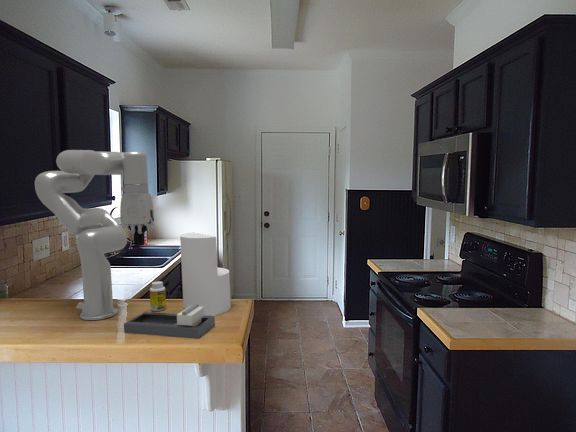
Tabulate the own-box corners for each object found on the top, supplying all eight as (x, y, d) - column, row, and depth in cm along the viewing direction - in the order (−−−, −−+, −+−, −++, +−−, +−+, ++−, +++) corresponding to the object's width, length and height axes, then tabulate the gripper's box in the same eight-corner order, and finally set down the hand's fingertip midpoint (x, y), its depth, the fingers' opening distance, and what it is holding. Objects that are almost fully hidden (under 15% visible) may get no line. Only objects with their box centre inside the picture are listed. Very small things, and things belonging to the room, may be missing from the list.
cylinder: (197, 319, 149) (193, 239, 146) (175, 308, 162) (172, 234, 159) (239, 308, 160) (236, 234, 157) (215, 299, 173) (213, 230, 170)
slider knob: (177, 329, 135) (176, 311, 134) (190, 319, 143) (189, 303, 143) (192, 330, 133) (191, 312, 133) (204, 320, 142) (203, 303, 141)
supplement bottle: (158, 312, 158) (157, 285, 157) (147, 310, 160) (146, 283, 159) (169, 308, 162) (168, 281, 161) (158, 306, 165) (157, 280, 164)
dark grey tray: (124, 332, 138) (123, 323, 137) (145, 320, 149) (144, 311, 149) (198, 338, 131) (198, 328, 131) (214, 324, 143) (214, 316, 143)
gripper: (109, 190, 139) (112, 246, 140) (150, 190, 135) (153, 247, 137) (123, 189, 146) (126, 243, 148) (162, 189, 142) (165, 243, 144)
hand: (139, 245), depth 142 cm, fingers closed
